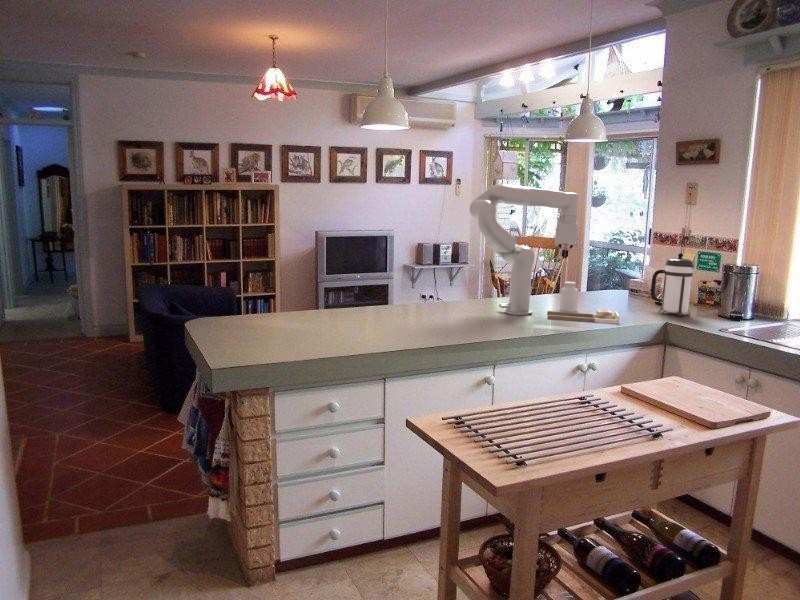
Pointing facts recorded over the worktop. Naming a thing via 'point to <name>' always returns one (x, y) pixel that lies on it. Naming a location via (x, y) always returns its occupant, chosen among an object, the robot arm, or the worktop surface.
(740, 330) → the worktop surface
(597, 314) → the block
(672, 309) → the coffee press
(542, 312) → the worktop surface
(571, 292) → the pill bottle
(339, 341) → the worktop surface
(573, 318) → the lane
